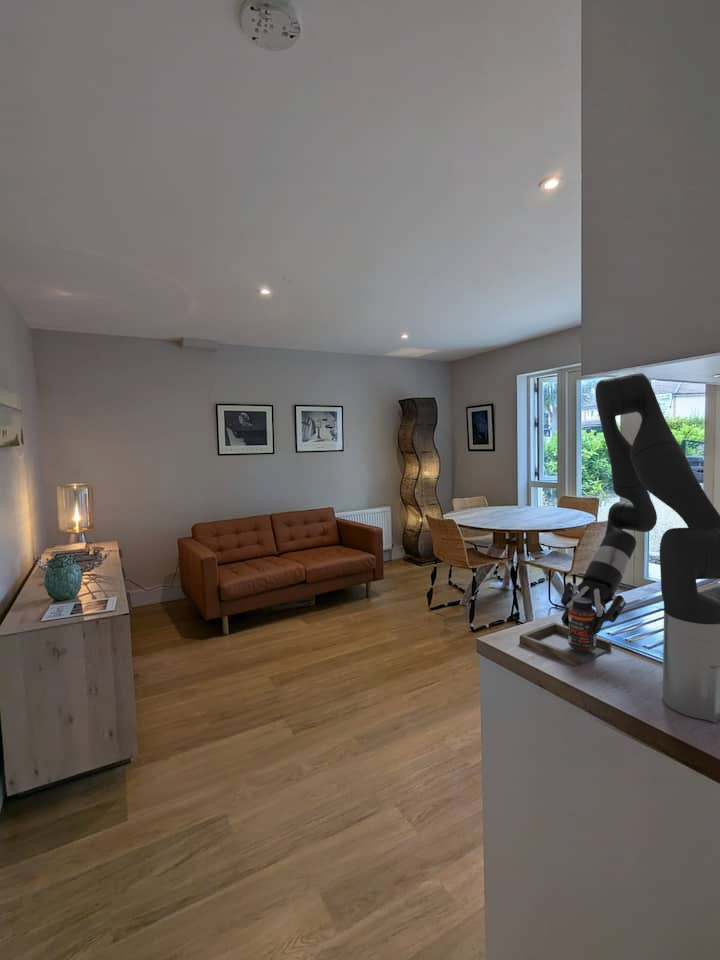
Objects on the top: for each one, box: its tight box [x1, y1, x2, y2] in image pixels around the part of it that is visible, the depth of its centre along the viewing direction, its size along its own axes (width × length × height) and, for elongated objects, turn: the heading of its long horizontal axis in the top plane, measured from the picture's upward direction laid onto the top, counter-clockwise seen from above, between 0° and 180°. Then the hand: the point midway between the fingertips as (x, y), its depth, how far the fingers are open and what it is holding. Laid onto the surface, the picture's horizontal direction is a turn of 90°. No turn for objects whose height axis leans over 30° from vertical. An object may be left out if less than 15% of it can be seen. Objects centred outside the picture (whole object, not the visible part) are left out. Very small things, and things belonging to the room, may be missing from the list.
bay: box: [519, 622, 612, 668], centre depth 110 cm, size 15×14×2 cm
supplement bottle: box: [567, 597, 597, 652], centre depth 106 cm, size 6×6×11 cm
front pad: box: [563, 646, 608, 665], centre depth 107 cm, size 6×10×1 cm, turn 122°
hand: (578, 628), depth 105 cm, fingers closed on supplement bottle, 6 cm apart
